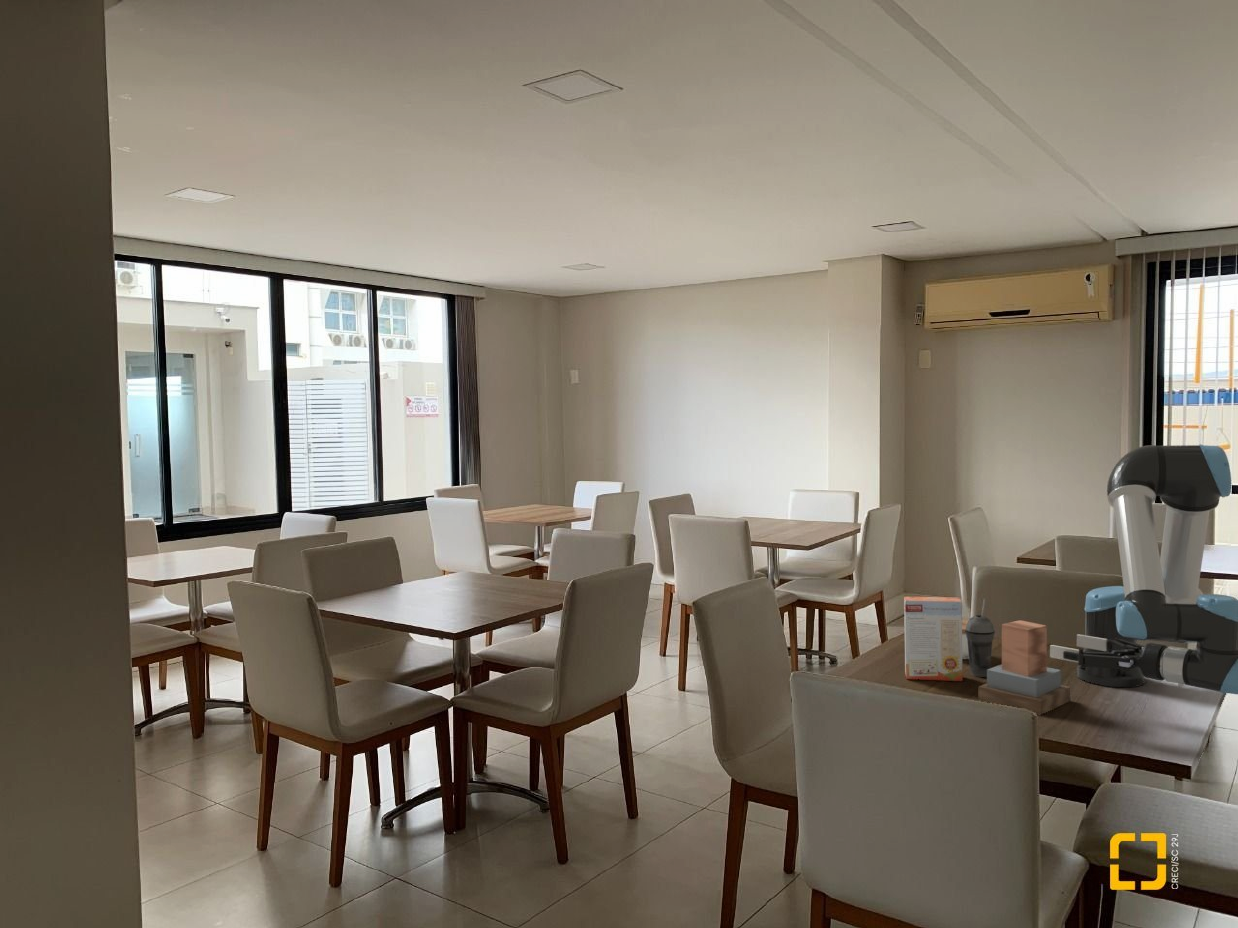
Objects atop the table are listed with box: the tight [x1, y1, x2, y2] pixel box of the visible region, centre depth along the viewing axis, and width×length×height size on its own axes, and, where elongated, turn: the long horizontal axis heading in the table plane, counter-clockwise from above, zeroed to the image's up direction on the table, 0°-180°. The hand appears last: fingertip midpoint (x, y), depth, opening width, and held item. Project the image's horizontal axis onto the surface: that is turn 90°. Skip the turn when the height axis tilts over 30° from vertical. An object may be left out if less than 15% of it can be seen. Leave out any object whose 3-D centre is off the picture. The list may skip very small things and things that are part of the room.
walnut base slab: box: [977, 682, 1071, 716], centre depth 220 cm, size 15×15×4 cm
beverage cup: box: [965, 598, 996, 678], centre depth 242 cm, size 7×7×20 cm
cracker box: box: [903, 596, 964, 682], centre depth 240 cm, size 14×6×21 cm, turn 76°
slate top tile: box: [986, 663, 1062, 698], centre depth 220 cm, size 12×12×4 cm
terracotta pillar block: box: [1001, 619, 1048, 677], centre depth 219 cm, size 7×7×11 cm
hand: (1064, 645), depth 212 cm, fingers open, 13 cm apart
